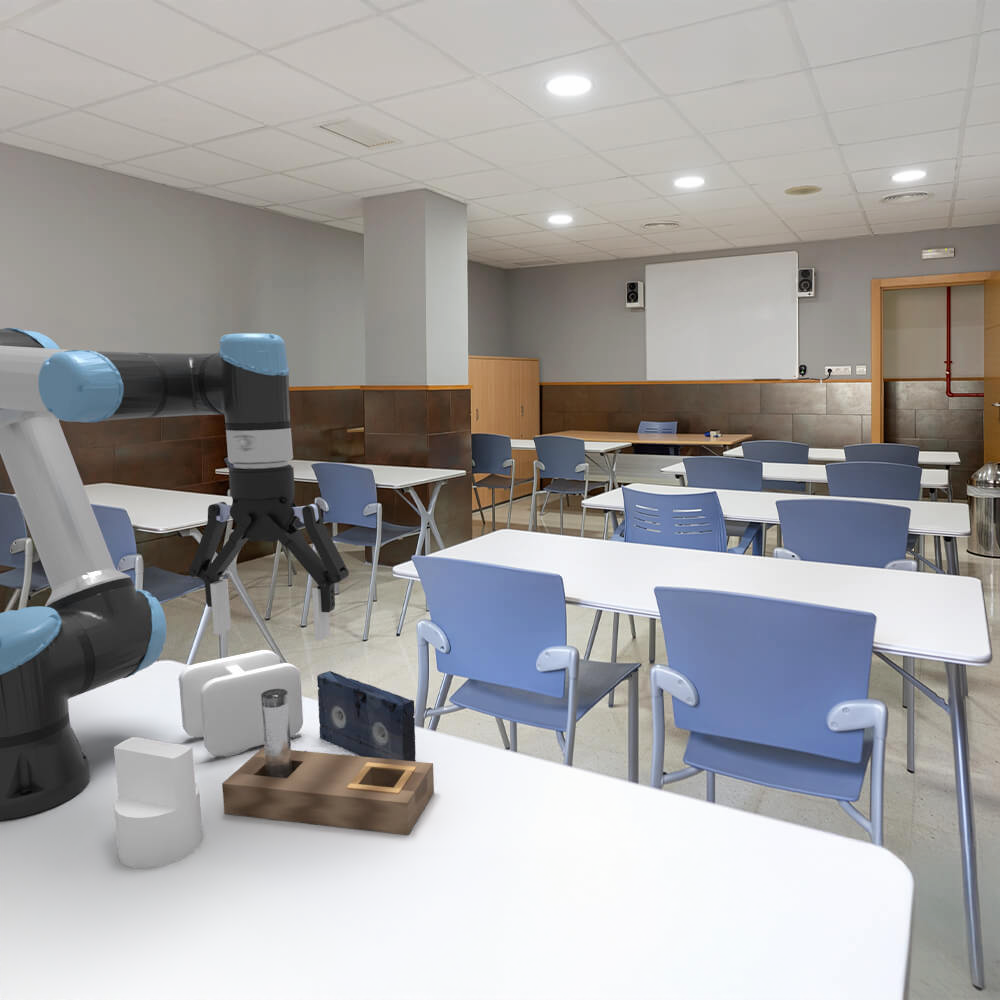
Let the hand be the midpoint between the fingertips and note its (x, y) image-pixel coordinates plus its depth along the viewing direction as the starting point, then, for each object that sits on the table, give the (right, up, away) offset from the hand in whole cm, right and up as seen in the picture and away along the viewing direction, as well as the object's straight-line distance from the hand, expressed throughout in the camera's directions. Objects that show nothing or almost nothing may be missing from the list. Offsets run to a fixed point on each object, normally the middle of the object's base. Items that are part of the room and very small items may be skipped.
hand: (271, 634), depth 101 cm
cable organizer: (-10, -19, +21) cm, 30 cm away
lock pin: (0, -21, +3) cm, 22 cm away
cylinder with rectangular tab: (-11, -23, -7) cm, 27 cm away
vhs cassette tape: (+9, -20, +16) cm, 27 cm away
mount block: (+7, -22, +2) cm, 23 cm away
